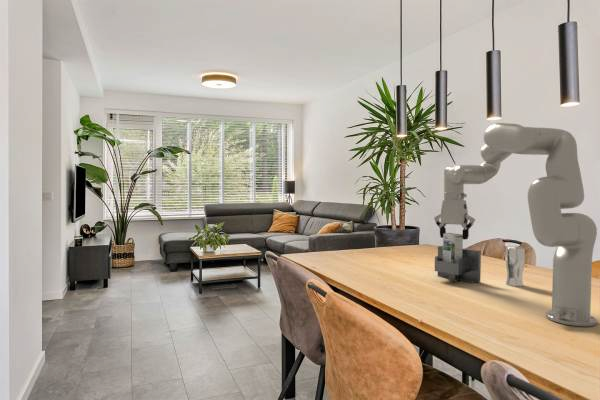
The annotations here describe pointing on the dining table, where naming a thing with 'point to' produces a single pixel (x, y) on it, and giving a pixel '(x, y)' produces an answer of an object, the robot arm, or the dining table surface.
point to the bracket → (460, 266)
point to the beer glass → (514, 265)
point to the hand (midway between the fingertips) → (453, 238)
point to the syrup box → (452, 247)
